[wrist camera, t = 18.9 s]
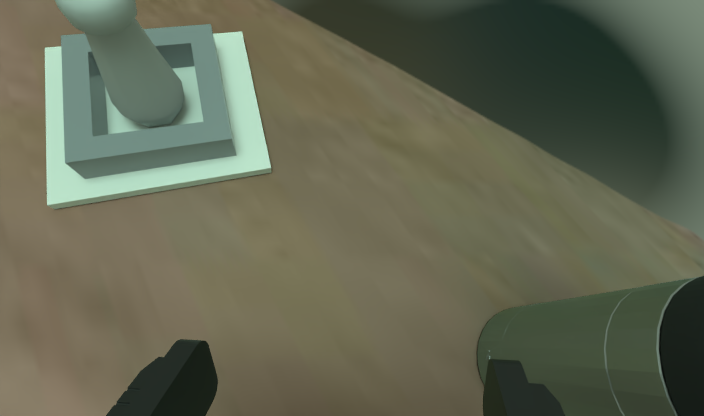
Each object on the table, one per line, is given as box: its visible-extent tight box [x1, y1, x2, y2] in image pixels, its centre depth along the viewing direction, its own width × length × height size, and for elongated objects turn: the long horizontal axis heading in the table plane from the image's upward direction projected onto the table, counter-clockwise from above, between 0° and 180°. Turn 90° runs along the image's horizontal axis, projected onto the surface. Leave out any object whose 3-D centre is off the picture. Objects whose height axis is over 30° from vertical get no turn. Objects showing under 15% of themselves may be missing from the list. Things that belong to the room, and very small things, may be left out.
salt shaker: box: [55, 0, 184, 127], centre depth 28 cm, size 6×6×13 cm
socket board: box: [45, 24, 272, 209], centre depth 34 cm, size 18×16×4 cm
